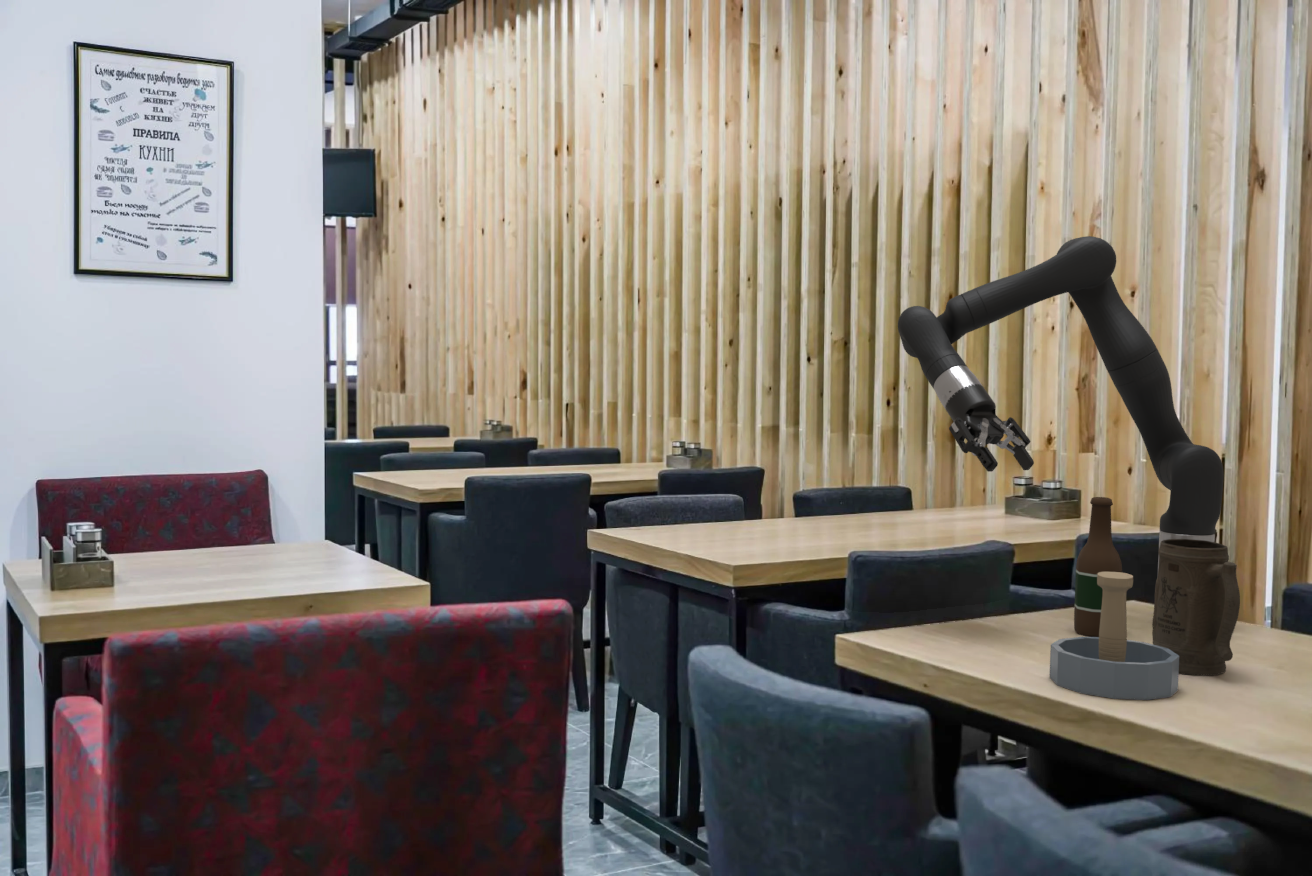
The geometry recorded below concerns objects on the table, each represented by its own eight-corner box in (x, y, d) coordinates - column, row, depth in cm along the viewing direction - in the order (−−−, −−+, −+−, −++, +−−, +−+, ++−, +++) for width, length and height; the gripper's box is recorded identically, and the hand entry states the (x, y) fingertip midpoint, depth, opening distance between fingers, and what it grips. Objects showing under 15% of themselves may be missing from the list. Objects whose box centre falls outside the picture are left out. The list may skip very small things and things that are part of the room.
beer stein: (1131, 660, 189) (1143, 537, 186) (1181, 655, 193) (1193, 534, 191) (1210, 691, 175) (1224, 558, 172) (1263, 685, 179) (1277, 555, 177)
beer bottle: (1124, 632, 210) (1129, 497, 209) (1114, 640, 204) (1120, 501, 202) (1078, 626, 214) (1083, 494, 213) (1068, 634, 208) (1073, 497, 206)
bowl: (1111, 665, 186) (1112, 633, 185) (1202, 692, 170) (1203, 658, 170) (1026, 675, 179) (1028, 642, 178) (1113, 704, 163) (1115, 668, 163)
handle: (1127, 673, 177) (1131, 573, 176) (1130, 683, 171) (1134, 579, 170) (1093, 669, 178) (1096, 570, 178) (1094, 680, 172) (1098, 577, 172)
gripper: (945, 382, 202) (994, 454, 193) (1004, 383, 209) (1054, 452, 200) (922, 412, 207) (968, 483, 198) (981, 412, 214) (1028, 481, 205)
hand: (1011, 467), depth 199 cm, fingers open, 8 cm apart
